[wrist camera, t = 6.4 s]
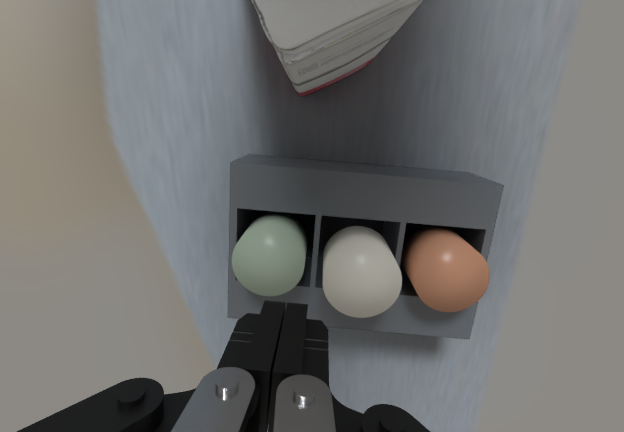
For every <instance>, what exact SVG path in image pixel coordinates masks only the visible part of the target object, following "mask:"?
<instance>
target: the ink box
mask: <svg viewBox="0 0 624 432" xmlns="http://www.w3.org/2000/svg"><path fill="white" fill-rule="evenodd" d="M423 1H424V0H251V2H252V3H253V5H254V7H255V9H256V11H257V13H258V16H259V19H260V23H261V25H262V27H263V30H264V32H265V34H266V37H267V38H268V40H269V41H270V42H271V43H272V44H273V46H274V48H275V50H276V52H277V55H278V58H279V60H280V61H281V63H282V65H283V67H284V69H285V71H286V73H287V75H288V77H289V78H290V80H291V82H292V84H293V86H294V88H295V90H296V92H297V93H298V95H299V96H301V97H302V96H306V95H308V94H310V93H313V92H315V91H317V90H320V89H322V88H324V87H327V86H329V85H331V84H333V83H335V82H337V81H339V80H341V79H343V78H345V77H347V76H349V75H351V74H353V73H354V72H356V71H358V70H360V69H361V68H363V67H365V66H366V65H368V64H369V63H370V62H371V61H372V60H373V59H374V57H375V56H376V55H377V54H378V53H379V52H380V51H381V50H382V49H383V47H384V46H385V45H386V44H387V43H388V42H389V40H390V39H391V38H392V37H393V36H394V35H395V33H396V32H397V31H398V30H399V29H400V28H401V26H402V25H403V24H404V23H405V22H406V20H407V19H408V18H409V17H410V16H411V14H412V13H413V12H414V11H415V10H416V9H417V7H418V6H419V5H420V4H421V3H422V2H423Z"/></svg>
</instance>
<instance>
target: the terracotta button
mask: <svg viewBox="0 0 624 432" xmlns="http://www.w3.org/2000/svg"><path fill="white" fill-rule="evenodd" d="M402 264H403V267H404V270H405V271H406V273H407V275H408V277H409V279H410V281H411V283H412V285H413V286H414V288H415V290H416V292H417V294H418V296H419V298H420V299H421V300H422V301H423V302H424V303H425V304H426V305H427V306H429V307H430V308H432V309H435V310H437V311H441V312H456V311H461V310H464V309H466V308H468V307H470V306H472V305H473V304H475V303H476V302H477V301H478V300H479V299H480V298H481V297H482V296H483V294H484V293H485V291H486V289H487V287H488V284H489V278H490V273H489V267H488V264H487V262H486V260H485V259H484V257H483V256H482V255H481V254H480V253H479V252H478V251H477V250H475V249H474V248H473V247H472V246H471V245H470V244H468V243H467V242H466V241H465V240H464V239H463V238H461V237H460V236H459V235H458V234H457V233H455V232H454V231H453V230H451V229H448V228H445V227H441V226H432V227H427V228H424V229H421V230H419V231H418V232H416V233H415V234H413V235H412V236H411V237H410V238H409V239H408V241H407V242H406V244H405V246H404V249H403V252H402Z"/></svg>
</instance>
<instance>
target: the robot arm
mask: <svg viewBox="0 0 624 432" xmlns="http://www.w3.org/2000/svg"><path fill="white" fill-rule="evenodd" d="M285 309H286V311H285ZM307 309H308V304H301V303H291V302H287V306H286V302H281V301H271V300H265V301H264V303H263V306H262V309H261V312H260V314H254V313H247V314H245V315H244V316H243V317H242V318H240V319H239V320H238V321H237V323H236V326H235V328H234V330H233V333H232V335H231V337H230V341H229V342H228V344H227V346H226V349H225V351H224V353H223V355H222V358H221V360H220V362H219V365H218V367H217V369H216V370H213V371H212V372H210V373H208V374H207V375H206V376H205V377H203V379H202V380H201V382H200V383H199V385H198V387H197V388H195V389H193V390H189V391H185V392H179V393H173V394H165V395H164V391H163V388H162V386H161V384H160V383H158V382H157V381H155V380H152V379H148V378H135V379H129V380H126V381H123V382H121V383H118V384H116V385H114V386H112V387H110V388H108V389H106V390H103V391H102V392H99V393H97V394H95V395H93V396H91V397H89V398H87V399H85V400H83V401H80V402H78V403H76V404H74V405H72V406H70V407H68V408H66V409H63V410H61V411H59V412H57V413H55V414H53V415H51V416H49V417H47V418H45V419H42V420H40V421H38V422H36V423H34V424H32V425H30V426H28V427H26V428H23V429H22V430H19V431H17V432H267V430H268V432H430V431H429V430H428V429H426V428H425V427H424V426H423V425H422V424H421V423H420V422H418V421H417V420H416V419H415V418H414V417H413V416H412V415H410V414H409V413H408V412H406V411H405V410H403V409H401V408H399V407H396V406H393V405H388V404H378V405H374V406H372V407H370V408H368V409H367V410H366V411H365V412H364V414H362V413H359V412H357V411H354V410H352V409H349V408H347V407H346V406H344V405H342V404H341V403H340V402H338V401H337V400H336V399H335V397H334V396H333V395H332V393H331V391H330V388H329V358H328V329H327V327H326V326H325V324H324V323H323V321H322V320H313V319H307ZM268 424H269V428H268Z"/></svg>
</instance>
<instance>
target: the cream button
mask: <svg viewBox="0 0 624 432" xmlns="http://www.w3.org/2000/svg"><path fill="white" fill-rule="evenodd" d="M401 287H402V275H401V271H400V268H399V266H398V264H397V262H396V260H395V258H394V256H393V254H392V252H391V250H390V248H389V246H388V244H387V242H386V241H385V239H384V238H383V237H382V236H381V235H380V234H379V233H378V232H376V231H375V230H373V229H371V228H368V227H364V226H351V227H346V228H344V229H342V230H340V231H338V232H336V233H335V234H334V235H333V236H332V237H331V238H330V239H329V241H328V242H327V244H326V246H325V249H324V253H323V290H324V293H325V296H326V298H327V300H328V301H329V303H330V304H331V305H332V306H333V307H334V308H335V309H336V310H338V311H339V312H341V313H343V314H345V315H348V316H351V317H356V318H367V317H372V316H376V315H378V314H380V313H382V312H384V311H386V310H387V309H388V308H390V307H391V306H392V305H393V304H394V302H395V301H396V300H397V298H398V296H399V294H400V291H401Z"/></svg>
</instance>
